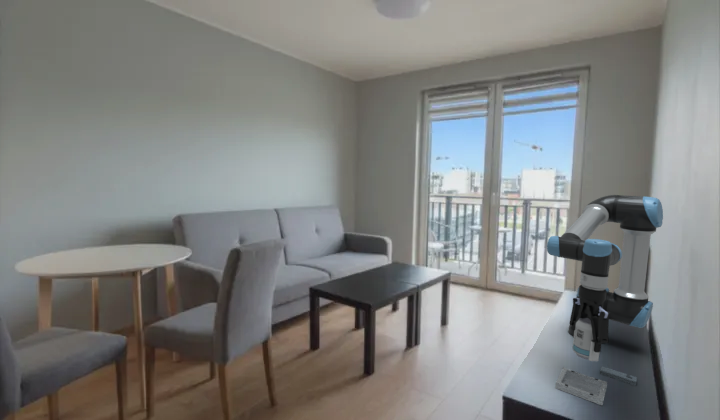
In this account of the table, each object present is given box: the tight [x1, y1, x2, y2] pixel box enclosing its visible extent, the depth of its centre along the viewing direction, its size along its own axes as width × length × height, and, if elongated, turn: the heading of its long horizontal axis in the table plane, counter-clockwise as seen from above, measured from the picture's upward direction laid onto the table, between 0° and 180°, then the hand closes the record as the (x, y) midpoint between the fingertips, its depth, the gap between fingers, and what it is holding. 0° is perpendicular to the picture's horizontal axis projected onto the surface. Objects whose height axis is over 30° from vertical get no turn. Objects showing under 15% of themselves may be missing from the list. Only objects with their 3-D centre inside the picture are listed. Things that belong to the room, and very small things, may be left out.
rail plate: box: [554, 367, 608, 406], centre depth 118 cm, size 13×13×2 cm
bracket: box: [599, 366, 638, 386], centre depth 126 cm, size 4×10×2 cm, turn 50°
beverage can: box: [572, 318, 598, 361], centre depth 116 cm, size 7×7×12 cm
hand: (584, 354), depth 117 cm, fingers closed on beverage can, 7 cm apart
